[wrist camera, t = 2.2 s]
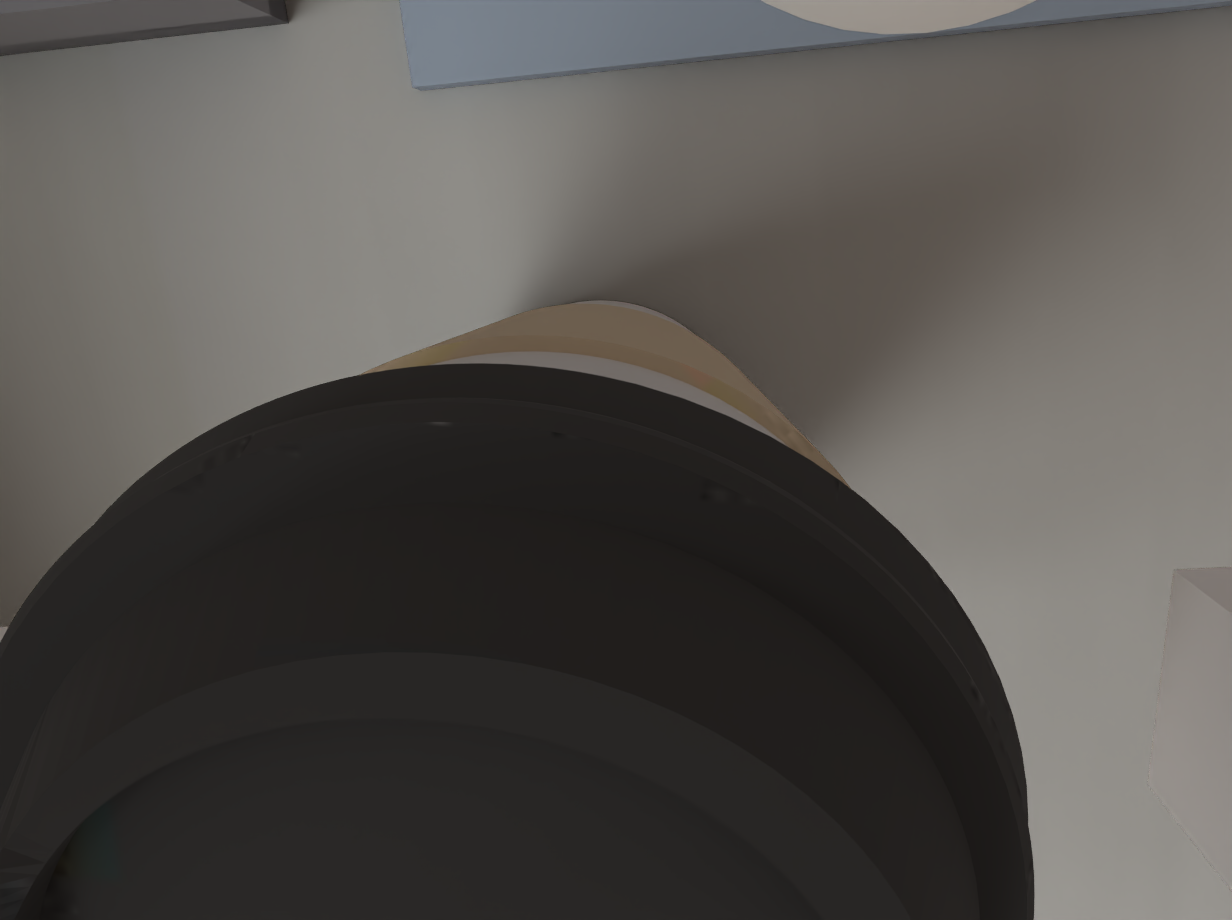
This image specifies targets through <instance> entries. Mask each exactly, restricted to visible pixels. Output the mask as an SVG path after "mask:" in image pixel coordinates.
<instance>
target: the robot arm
mask: <svg viewBox="0 0 1232 920" xmlns="http://www.w3.org/2000/svg"><path fill="white" fill-rule="evenodd" d="M8 627H9V626H8ZM8 627H0V642H1V640H2V638H3V636H4V634H5V632H6V631H7V629H8ZM1147 785H1148V787H1149V788H1150V789H1151V790H1152V792H1153V793H1154V794H1155V795H1156V797H1157V798H1158V799H1159V800H1160V802H1161V803H1162V804H1163V806H1164V807H1165V808H1166V809H1167V811H1168V812H1169V813H1170V814H1171V816H1172V817H1173V818H1174V819H1175V821H1176V822H1177V823H1178V824H1179V826H1180V827H1181V828H1182V830H1183V831H1184V832H1185V833H1186V835H1187V836H1188V837H1189V838H1190V840H1191V841H1192V842H1193V843H1194V845H1195V846H1196V847H1197V849H1198V850H1199V851H1200V852H1201V854H1202V855H1203V856H1204V857H1205V859H1206V860H1207V861H1208V862H1209V864H1210V865H1211V866H1212V867H1213V869H1214V870H1215V871H1216V873H1217V874H1218V875H1219V876H1220V878H1221V879H1222V880H1223V881H1224V883H1225V884H1226V885H1227V886H1228V888H1229V889H1230V890H1231V892H1232V567H1218V568H1198V569H1177V570H1174V571H1173V579H1172V587H1171V595H1170V603H1169V611H1168V619H1167V628H1166V636H1165V644H1164V652H1163V660H1162V668H1161V676H1160V684H1159V693H1158V701H1157V709H1156V717H1155V725H1154V733H1153V741H1152V749H1151V757H1150V766H1149V774H1148V782H1147Z"/></svg>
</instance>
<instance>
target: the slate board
mask: <svg viewBox="0 0 1232 920" xmlns="http://www.w3.org/2000/svg"><path fill="white" fill-rule="evenodd" d="M399 1H400V8H401V15H402V21H403V28H404V35H405V41H406V48H407V55H408V62H409V68H410V75H411V82H412V87H413V88H415V89H418V90H420V91H422V90H432V89H441V88H451V87H460V86H470V85H479V84H489V83H498V82H508V81H517V80H527V79H536V78H546V77H555V76H565V75H574V74H584V73H593V72H603V71H612V70H622V69H631V68H641V67H651V66H660V65H670V64H679V63H689V62H698V61H708V60H717V59H727V58H736V57H746V56H755V55H765V54H774V53H784V52H793V51H803V50H812V49H822V48H831V47H841V46H850V45H860V44H869V43H879V42H888V41H898V40H907V39H917V38H926V37H936V36H945V35H955V34H964V33H974V32H984V31H993V30H1003V29H1012V28H1022V27H1031V26H1041V25H1050V24H1060V23H1069V22H1079V21H1088V20H1098V19H1107V18H1117V17H1126V16H1136V15H1145V14H1155V13H1164V12H1174V11H1183V10H1193V9H1202V8H1212V7H1221V6H1231V5H1232V0H399Z"/></svg>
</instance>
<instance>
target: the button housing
mask: <svg viewBox="0 0 1232 920" xmlns="http://www.w3.org/2000/svg"><path fill="white" fill-rule="evenodd" d="M286 23H288V19H287V13H286V8H285V3H284V0H0V56H2V55H11V54H20V53H29V52H38V51H47V50H55V49H64V48H73V47H82V46H91V45H100V44H109V43H118V42H126V41H135V40H144V39H153V38H162V37H171V36H180V35H188V34H197V33H206V32H215V31H224V30H233V29H242V28H251V27H259V26H268V25H277V24H286Z"/></svg>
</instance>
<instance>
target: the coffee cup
mask: <svg viewBox="0 0 1232 920" xmlns="http://www.w3.org/2000/svg"><path fill="white" fill-rule="evenodd" d="M1033 919H1034V870H1033V857H1032V848H1031V840H1030V834H1029V828H1028V806H1027V785H1026V778H1025V771H1024V764H1023V757H1022V751H1021V746H1020V742H1019V738H1018V734H1017V730H1016V726H1015V722H1014V718H1013V714H1012V712H1011V709H1010V706H1009V703H1008V700H1007V697H1006V694H1005V692H1004V689H1003V686H1002V683H1001V680H1000V678H999V676H998V674H997V672H996V669H995V667H994V665H993V663H992V661H991V659H990V656H989V654H988V652H987V650H986V648H985V646H984V644H983V642H982V640H981V639H980V637H979V635H978V633H977V632H976V630H975V628H974V626H973V625H972V623H971V621H970V619H969V618H968V616H967V615H966V613H965V612H964V610H963V609H962V607H961V606H960V604H959V603H958V601H957V599H956V598H955V596H954V595H953V593H952V592H951V591H950V590H949V588H948V587H947V586H946V584H945V583H944V582H943V581H942V579H941V578H940V577H939V575H938V574H937V573H936V572H935V570H934V569H933V568H932V567H931V565H930V564H929V563H928V561H927V560H926V559H925V558H924V557H923V556H922V555H921V554H920V553H919V552H918V551H917V550H916V548H915V547H914V546H913V545H912V544H911V543H910V542H909V541H908V540H907V539H906V538H905V537H904V536H903V534H902V533H901V532H900V531H899V530H898V529H897V528H896V527H894V526H893V525H892V524H891V523H890V522H889V521H888V520H887V519H886V518H885V517H883V516H882V515H881V514H880V513H879V512H878V511H877V510H876V509H875V508H874V507H872V506H871V505H870V504H869V503H868V502H867V501H866V500H865V499H863V498H862V497H861V496H859V495H858V494H857V493H856V492H854V491H853V490H852V489H851V488H850V487H849V486H848V484H847V483H846V482H845V480H844V479H843V478H842V477H841V475H840V474H839V473H838V472H837V470H836V469H835V468H834V467H833V466H832V465H831V464H830V463H829V462H828V461H827V460H826V459H825V458H824V457H823V455H822V454H821V453H820V452H819V451H818V450H817V449H816V448H815V447H814V446H813V445H812V444H811V443H810V442H809V441H808V440H807V439H806V438H805V437H804V436H803V435H802V434H801V433H800V432H799V431H798V430H797V429H796V428H795V427H794V425H793V424H792V423H791V422H790V421H789V420H788V419H787V418H786V417H785V416H784V415H783V414H782V413H781V412H780V411H779V410H778V409H777V408H776V407H775V406H774V405H773V404H772V403H771V402H770V401H769V400H768V399H767V398H766V397H765V396H764V395H763V394H762V393H761V392H760V391H759V390H758V389H757V388H756V387H755V386H754V385H753V383H752V382H751V381H750V380H749V379H748V378H747V377H746V376H745V375H744V374H743V373H742V372H741V371H740V370H739V369H738V368H737V367H736V366H735V365H734V364H733V363H732V362H731V361H730V360H728V359H727V358H726V357H725V356H724V355H723V354H722V353H720V352H719V351H718V350H717V349H715V348H714V347H713V346H711V345H710V344H709V343H707V342H706V341H704V340H703V339H701V338H700V337H698V336H696V335H695V334H694V333H692V332H691V331H690V330H689V329H687V328H686V327H684V326H683V325H681V324H680V323H678V322H677V321H675V320H673V319H671V318H669V317H668V316H666V315H664V314H661V313H659V312H657V311H654V310H652V309H649V308H646V307H643V306H639V305H635V304H631V303H626V302H619V301H607V300H592V301H582V302H576V303H570V304H565V305H556V306H549V307H544V308H539V309H534V310H530V311H527V312H523V313H520V314H517V315H514V316H511V317H509V318H506V319H503V320H501V321H498V322H495V323H492V324H490V325H487V326H484V327H482V328H479V329H476V330H473V331H471V332H468V333H465V334H463V335H460V336H457V337H454V338H452V339H449V340H446V341H443V342H441V343H438V344H435V345H433V346H430V347H427V348H424V349H422V350H419V351H416V352H414V353H411V354H408V355H405V356H403V357H400V358H397V359H395V360H392V361H390V362H387V363H385V364H382V365H380V366H377V367H375V368H373V369H371V370H368V371H366V372H364V373H362V374H360V375H357V376H353V377H348V378H343V379H339V380H336V381H332V382H328V383H324V384H320V385H317V386H314V387H310V388H307V389H304V390H300V391H297V392H294V393H292V394H289V395H286V396H283V397H280V398H277V399H275V400H272V401H270V402H267V403H265V404H262V405H260V406H257V407H255V408H253V409H251V410H249V411H246V412H244V413H242V414H240V415H238V416H236V417H234V418H232V419H230V420H228V421H226V422H224V423H222V424H220V425H218V426H216V427H214V428H213V429H211V430H209V431H207V432H205V433H204V434H202V435H200V436H199V437H197V438H195V439H194V440H192V441H190V442H189V443H187V444H186V445H184V446H183V447H181V448H180V449H178V450H177V451H175V452H174V453H172V454H171V455H169V456H168V457H167V458H165V459H164V460H163V461H161V462H160V463H159V464H157V465H156V466H155V467H153V468H152V469H151V470H150V471H148V472H147V473H146V474H145V475H144V476H142V477H141V478H140V479H139V480H138V481H136V482H135V483H134V484H133V485H132V486H131V487H130V488H129V489H128V490H127V491H125V492H124V493H123V494H122V495H121V496H120V497H119V498H118V499H117V500H116V501H115V502H114V503H113V504H112V505H111V506H110V507H109V508H108V509H107V510H106V512H105V513H104V514H103V515H102V516H101V517H100V518H99V519H98V520H97V522H96V523H95V524H94V525H93V526H92V527H91V528H90V529H89V530H87V531H86V532H85V533H84V534H83V535H82V536H81V537H80V538H79V539H78V540H77V541H76V542H75V543H74V544H73V545H72V546H71V547H70V548H69V549H68V550H67V551H66V552H65V553H64V554H63V555H62V556H61V557H60V558H59V559H58V560H57V561H56V562H55V564H54V565H53V566H52V567H51V568H50V569H49V571H48V572H47V573H46V574H45V575H44V577H43V578H42V579H41V580H40V581H39V583H38V584H37V585H36V587H35V588H34V589H33V591H32V592H31V593H30V595H29V596H28V598H27V599H26V600H25V602H24V603H23V605H22V606H21V608H20V609H19V611H18V612H17V614H16V616H15V617H14V619H13V621H12V622H11V624H10V625H9V627H8V629H7V631H6V632H5V634H4V636H3V638H2V640H1V642H0V920H1033Z"/></svg>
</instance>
